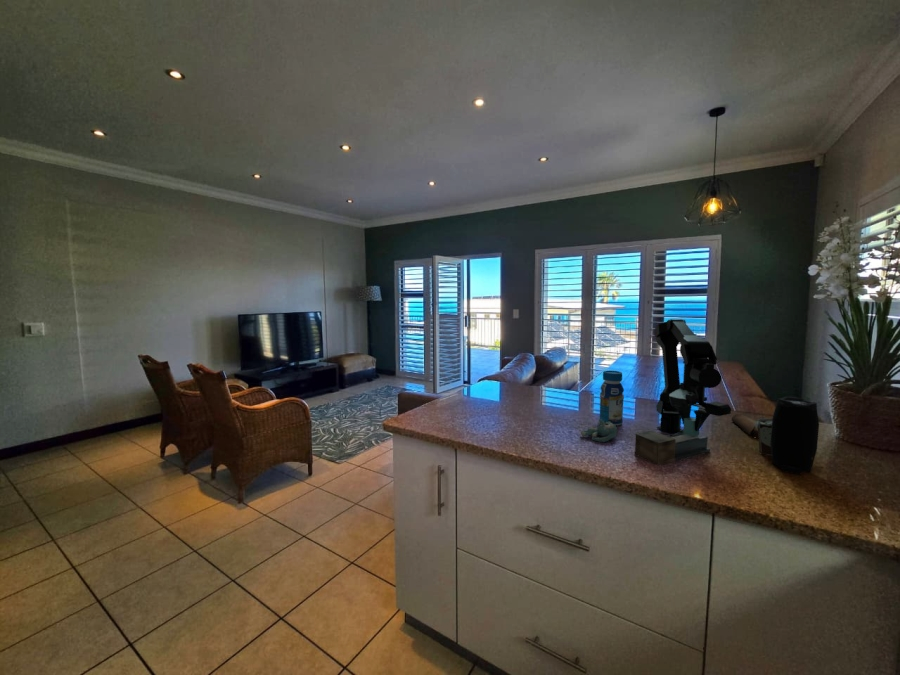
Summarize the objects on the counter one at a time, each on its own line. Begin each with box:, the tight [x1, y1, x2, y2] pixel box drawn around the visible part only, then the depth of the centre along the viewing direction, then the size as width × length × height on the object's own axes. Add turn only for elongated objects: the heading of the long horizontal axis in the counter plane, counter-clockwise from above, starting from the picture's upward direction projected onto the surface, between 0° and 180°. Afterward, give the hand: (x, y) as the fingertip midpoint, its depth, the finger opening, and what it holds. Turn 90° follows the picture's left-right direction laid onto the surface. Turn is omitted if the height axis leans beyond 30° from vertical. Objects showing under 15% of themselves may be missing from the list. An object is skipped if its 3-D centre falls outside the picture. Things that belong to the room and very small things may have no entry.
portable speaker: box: [771, 396, 820, 475], centre depth 99 cm, size 9×9×20 cm
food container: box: [755, 417, 773, 456], centre depth 111 cm, size 12×6×10 cm, turn 71°
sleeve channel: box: [666, 432, 711, 462], centre depth 112 cm, size 16×8×4 cm, turn 113°
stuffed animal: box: [580, 418, 618, 443], centre depth 124 cm, size 11×7×12 cm
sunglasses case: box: [731, 413, 759, 439], centre depth 130 cm, size 18×7×7 cm, turn 159°
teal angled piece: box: [671, 416, 700, 443], centre depth 112 cm, size 13×4×8 cm, turn 113°
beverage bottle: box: [599, 370, 625, 427], centre depth 139 cm, size 8×8×20 cm
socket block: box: [634, 430, 676, 466], centre depth 107 cm, size 7×8×7 cm
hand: (691, 429), depth 113 cm, fingers closed on teal angled piece, 3 cm apart
